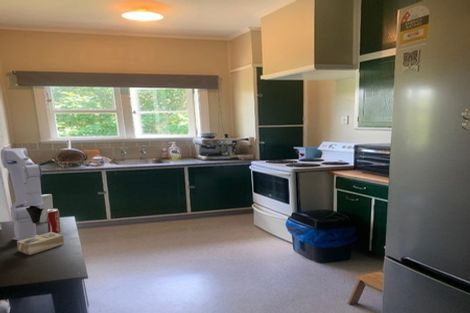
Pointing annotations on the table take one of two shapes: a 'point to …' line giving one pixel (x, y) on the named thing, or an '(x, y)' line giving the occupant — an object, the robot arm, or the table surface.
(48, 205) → the skincare box
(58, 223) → the soda can
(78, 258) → the table surface
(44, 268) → the table surface
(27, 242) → the peg
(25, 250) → the peg board
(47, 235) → the peg
